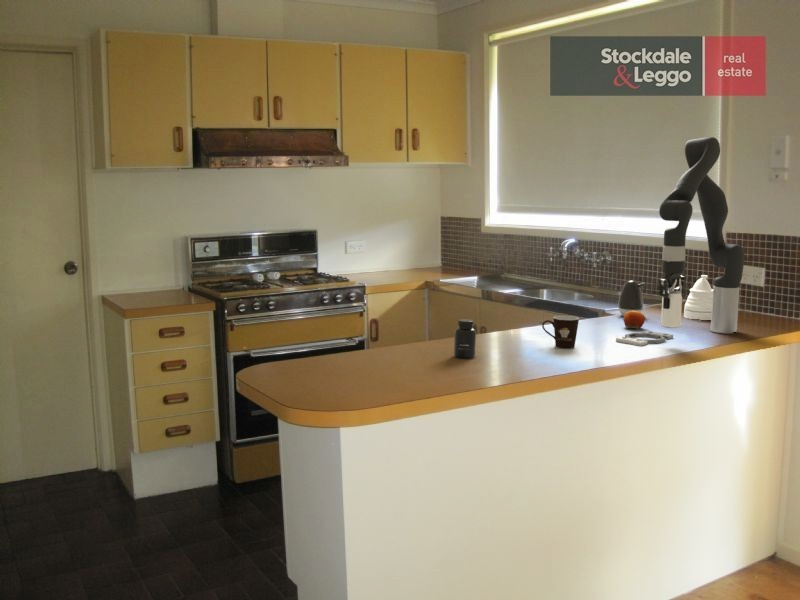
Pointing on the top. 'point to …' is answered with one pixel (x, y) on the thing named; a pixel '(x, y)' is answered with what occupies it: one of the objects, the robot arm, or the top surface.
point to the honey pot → (699, 300)
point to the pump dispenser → (631, 297)
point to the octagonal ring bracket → (641, 342)
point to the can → (672, 311)
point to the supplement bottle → (465, 340)
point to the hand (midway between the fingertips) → (671, 307)
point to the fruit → (634, 319)
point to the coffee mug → (564, 331)
